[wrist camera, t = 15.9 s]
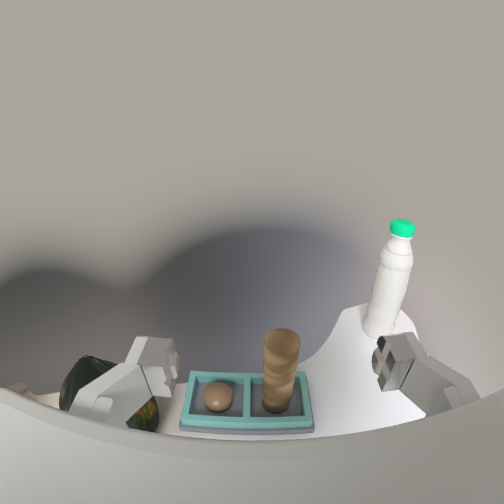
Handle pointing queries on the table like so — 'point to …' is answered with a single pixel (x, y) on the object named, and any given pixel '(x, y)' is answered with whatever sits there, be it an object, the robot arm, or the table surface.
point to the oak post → (279, 369)
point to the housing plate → (242, 406)
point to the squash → (91, 370)
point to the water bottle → (390, 280)
